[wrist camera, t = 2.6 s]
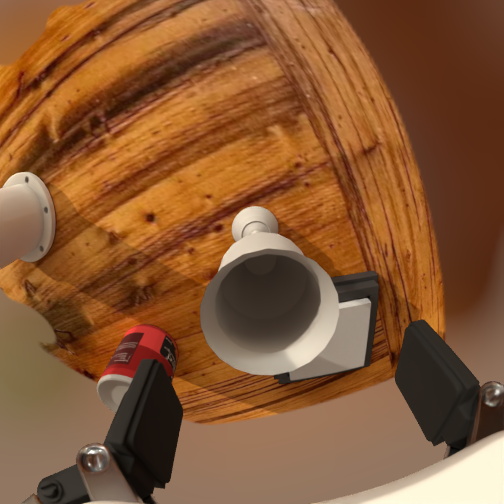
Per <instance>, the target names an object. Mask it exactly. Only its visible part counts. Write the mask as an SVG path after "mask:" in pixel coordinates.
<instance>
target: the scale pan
mask: <svg viewBox="0 0 504 504" xmlns="http://www.w3.org/2000/svg"><path fill="white" fill-rule="evenodd" d="M370 310H371V302H370V300H369V299H368V298H367V297H361V298H356V299H351V300H345V301H340V302H339V317H338V321H337V325H336V328H335V332H334V334H333V336H332V337H331V339H330V341H329V342H328V344H327V345H326V347H325V349H324V350H322V351H321V352H320V353H319V354H318V355H317V356H316V357H315V358H314V359H313V360H311V361H310V362H309V363H307V364H305V365H303V366H301V367H299V368H297V369H295V370H293V371H290V372H289V375H290V380H291V381H292V380H299V379H304V378H310V377H315V376H321V375H326V374H331V373H335V372H340V371H344V370H349V369H353V368H357V367H361V366H364V361H365V354H366V347H367V339H368V330H369V321H370Z"/></svg>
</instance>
